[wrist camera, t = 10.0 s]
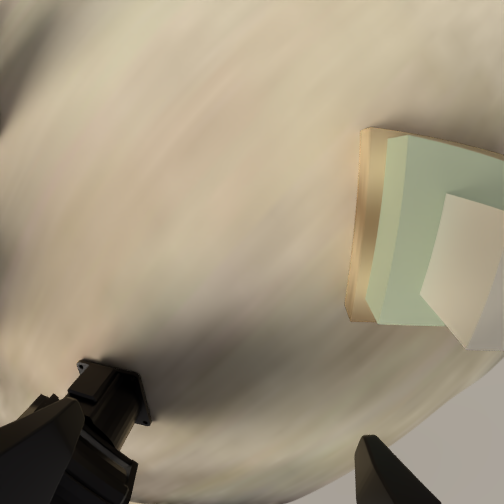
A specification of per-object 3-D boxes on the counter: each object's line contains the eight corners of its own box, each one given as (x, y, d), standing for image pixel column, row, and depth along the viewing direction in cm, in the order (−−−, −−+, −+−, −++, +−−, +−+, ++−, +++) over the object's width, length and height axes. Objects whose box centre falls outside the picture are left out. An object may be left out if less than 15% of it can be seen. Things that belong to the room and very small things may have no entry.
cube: (489, 304, 13) (538, 350, 9) (419, 294, 14) (465, 349, 9) (515, 216, 12) (578, 241, 7) (446, 193, 12) (511, 213, 7)
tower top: (483, 304, 16) (505, 325, 13) (365, 298, 17) (377, 324, 14) (510, 170, 14) (539, 174, 11) (387, 138, 14) (407, 134, 12)
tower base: (473, 302, 19) (491, 319, 17) (342, 300, 20) (350, 321, 18) (496, 158, 16) (520, 160, 13) (357, 131, 17) (370, 127, 14)
